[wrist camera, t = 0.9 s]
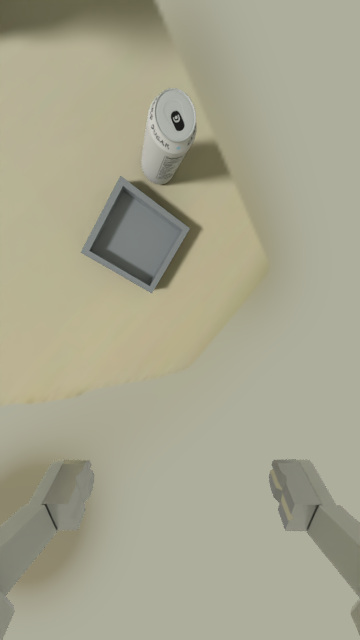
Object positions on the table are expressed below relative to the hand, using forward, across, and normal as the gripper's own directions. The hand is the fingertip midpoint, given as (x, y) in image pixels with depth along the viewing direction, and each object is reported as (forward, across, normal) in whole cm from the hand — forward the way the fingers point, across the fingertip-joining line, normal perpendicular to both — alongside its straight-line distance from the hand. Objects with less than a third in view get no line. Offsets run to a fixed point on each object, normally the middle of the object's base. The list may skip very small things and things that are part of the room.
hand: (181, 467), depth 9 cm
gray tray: (+37, +9, -8) cm, 39 cm away
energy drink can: (+39, +4, -21) cm, 45 cm away
